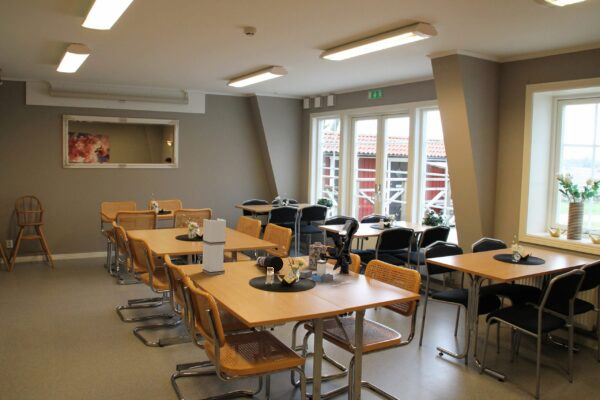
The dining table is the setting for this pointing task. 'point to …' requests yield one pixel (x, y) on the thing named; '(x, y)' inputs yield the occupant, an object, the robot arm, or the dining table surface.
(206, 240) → the white stacked pillar
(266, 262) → the black bottle
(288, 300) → the dining table surface
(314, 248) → the decorative jar
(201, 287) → the dining table surface
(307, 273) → the grey compartment tray
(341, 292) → the dining table surface
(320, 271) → the plug
